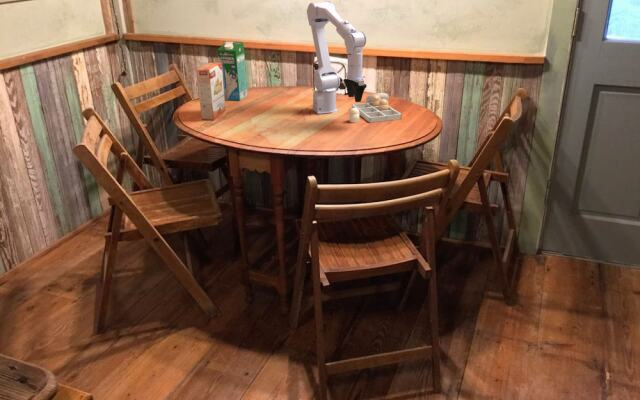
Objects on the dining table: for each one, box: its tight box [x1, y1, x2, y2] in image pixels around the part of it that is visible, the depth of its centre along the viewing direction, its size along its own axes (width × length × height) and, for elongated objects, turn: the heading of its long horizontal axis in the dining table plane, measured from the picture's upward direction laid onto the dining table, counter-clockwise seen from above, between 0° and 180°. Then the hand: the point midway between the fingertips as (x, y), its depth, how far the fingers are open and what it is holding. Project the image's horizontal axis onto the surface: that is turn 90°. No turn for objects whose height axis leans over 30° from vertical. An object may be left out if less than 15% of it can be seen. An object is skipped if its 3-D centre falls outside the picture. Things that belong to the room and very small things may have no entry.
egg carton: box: [351, 102, 403, 124], centre depth 227 cm, size 14×20×2 cm
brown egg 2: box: [379, 99, 389, 111], centre depth 227 cm, size 4×4×6 cm
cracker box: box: [196, 62, 226, 121], centre depth 227 cm, size 14×6×21 cm, turn 168°
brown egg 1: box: [371, 95, 381, 107], centre depth 233 cm, size 4×4×6 cm
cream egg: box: [348, 107, 360, 124], centre depth 218 cm, size 4×4×6 cm
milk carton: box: [217, 41, 249, 102], centre depth 250 cm, size 9×9×25 cm
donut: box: [365, 92, 390, 103], centre depth 239 cm, size 10×4×10 cm
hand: (354, 99), depth 215 cm, fingers open, 7 cm apart
